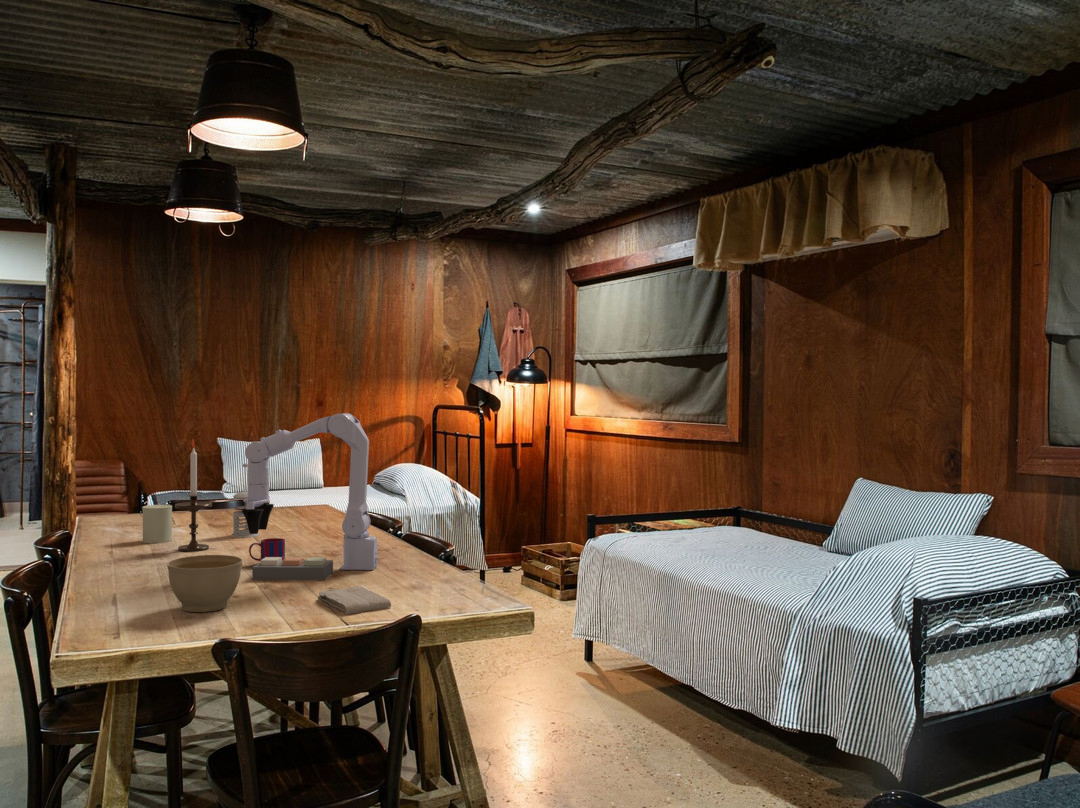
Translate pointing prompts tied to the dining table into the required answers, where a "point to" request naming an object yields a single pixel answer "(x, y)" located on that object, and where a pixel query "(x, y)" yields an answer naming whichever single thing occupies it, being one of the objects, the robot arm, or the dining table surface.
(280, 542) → the mug
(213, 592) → the planter bowl
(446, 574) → the dining table surface
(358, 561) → the robot arm
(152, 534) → the can
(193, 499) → the candlestick
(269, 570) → the key panel
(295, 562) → the terracotta key
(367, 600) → the washcloth
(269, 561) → the cream key
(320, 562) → the sage key
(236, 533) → the french press
